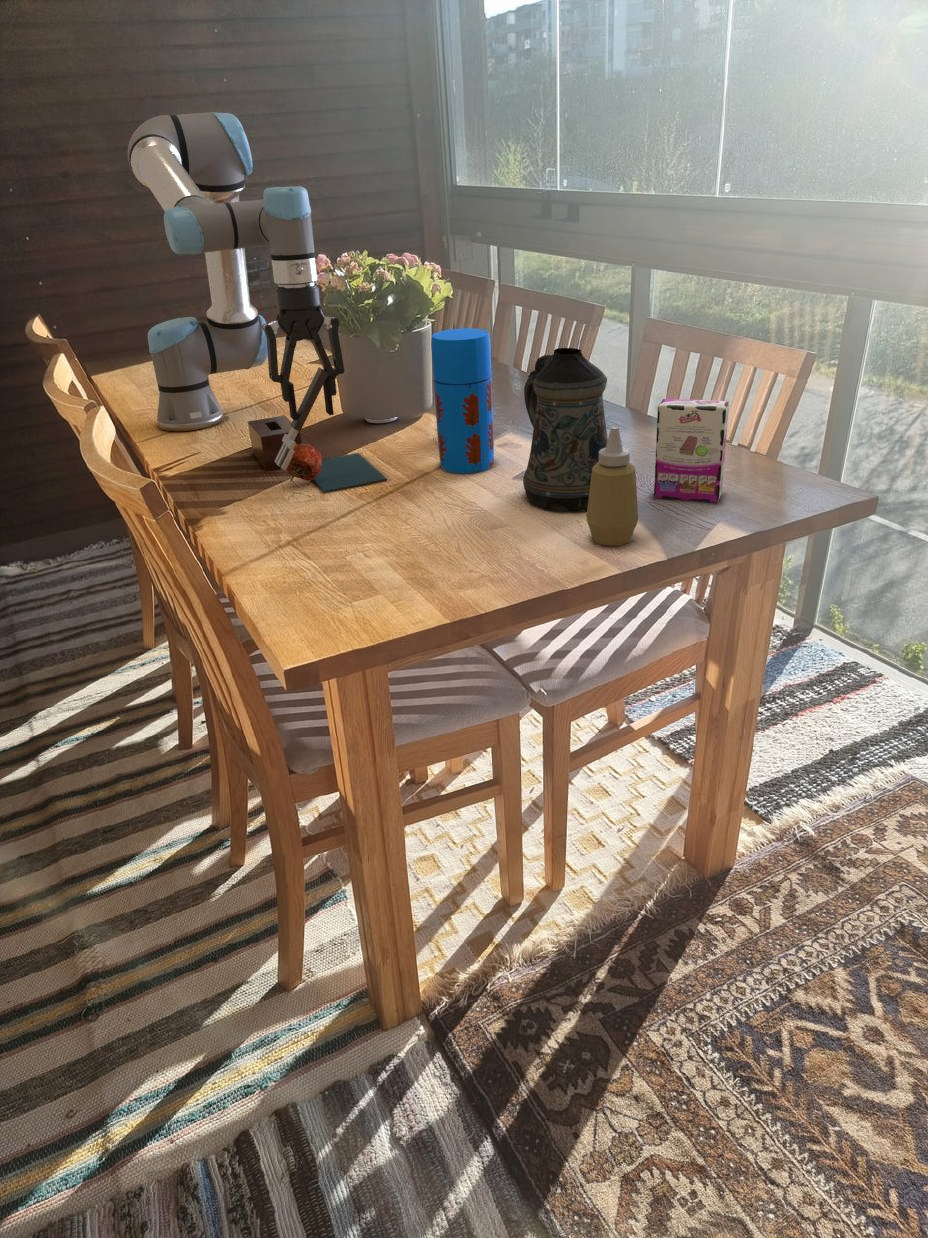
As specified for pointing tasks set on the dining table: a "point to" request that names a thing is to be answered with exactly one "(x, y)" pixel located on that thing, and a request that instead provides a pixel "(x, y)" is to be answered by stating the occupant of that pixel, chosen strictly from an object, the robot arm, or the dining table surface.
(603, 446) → the beer stein
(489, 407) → the thermos
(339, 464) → the mat
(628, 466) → the squeeze bottle
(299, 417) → the fork
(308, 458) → the red round fruit
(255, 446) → the fork stand
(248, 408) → the dining table surface
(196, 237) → the robot arm
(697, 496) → the candy bar box
